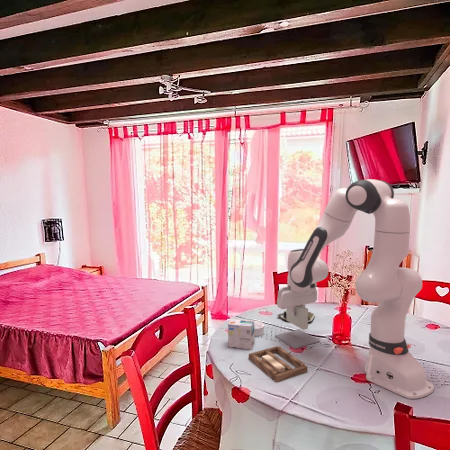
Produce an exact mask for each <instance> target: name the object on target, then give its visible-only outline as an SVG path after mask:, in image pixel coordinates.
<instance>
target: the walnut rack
mask: <svg viewBox="0 0 450 450" xmlns="http://www.w3.org/2000/svg"><path fill="white" fill-rule="evenodd" d="M275 354H277V355H278V356H280V357H281V358H283V359H284V360H285V361H287V362H289V363H290V364H291V365H293V366H294V367H295V368H293V367H291V366H290V365H289V364H288V363H286V362H285V361H283V360H282V359H280V357H278V356H277V355H275ZM265 355H270V356H271V357H272V358H274V359H275V360H276V361H278V362H279V363H280V364H282V365H283V366H284V367H285V370H284V371H283V372H281V373H278V372H276V371H275V370H274V369H273V368H271V367H270V366H269V365H268V364H266V363H265V362H264V361H263V360H262V356H265ZM248 360H249V361H251V362H254V365H255V366H257V367H258V368H260V370H261V371H262V372H264V373H265V374H266V375H267V374H268V376H269V378H271V379H272V380H273V381H275V382H276V383H278V382H281V381H284V380H287V379H290V378H294V377H296V376H299V375H302V374H303V375H304V374H305V373H308V366H307V365H305V364H306V363H305V362H303V361H302V360H300V359H299V358H297V357H296V356H294V355H293V354H291V353H290V352H288V351H287V350H286V349H285V348H283V347H281V346H277V345H276V346H272V347H270V348H269V347H268V348H265V349H262V350H258V351H254V352H251V353H248Z"/></svg>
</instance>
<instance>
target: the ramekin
mask: <svg viewBox="0 0 450 450" xmlns="http://www.w3.org/2000/svg"><path fill="white" fill-rule="evenodd" d="M264 329H265V324H264V322H262V321H259V320H254V335H255V337H260V336H263V334H264V332H265V331H264Z"/></svg>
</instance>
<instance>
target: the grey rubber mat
mask: <svg viewBox="0 0 450 450" xmlns="http://www.w3.org/2000/svg"><path fill="white" fill-rule="evenodd" d="M275 338H277V339H278V340H280V341H281V342H283V343H285V345H288V346H289V347H291V348H292V349H294V350H297V349H301V348H304V347H307V346H310V345H311V346H312V345H313V344H317V343H320V340H319V339H317V338H315V337H314V336H312V335H310V334H308V333H307V332H305V331H304V330H302V329H301V328H299V329H296V330H291V331H287V332H283V333H279V334H276V335H275Z"/></svg>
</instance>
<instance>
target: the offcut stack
mask: <svg viewBox="0 0 450 450" xmlns="http://www.w3.org/2000/svg"><path fill="white" fill-rule="evenodd" d="M261 360H263V361H264V362H265V363H266V364H268V365H269V366H270V367H271V368H273V369H274V370H275V371H276V372H278V373H281V372H284V370H285V367H284V366H283V365H282V364H280V363H279V362H278V361H276V360H275V359H274V358H272V357H271V356H270V355H265V356H262V357H261Z"/></svg>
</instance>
